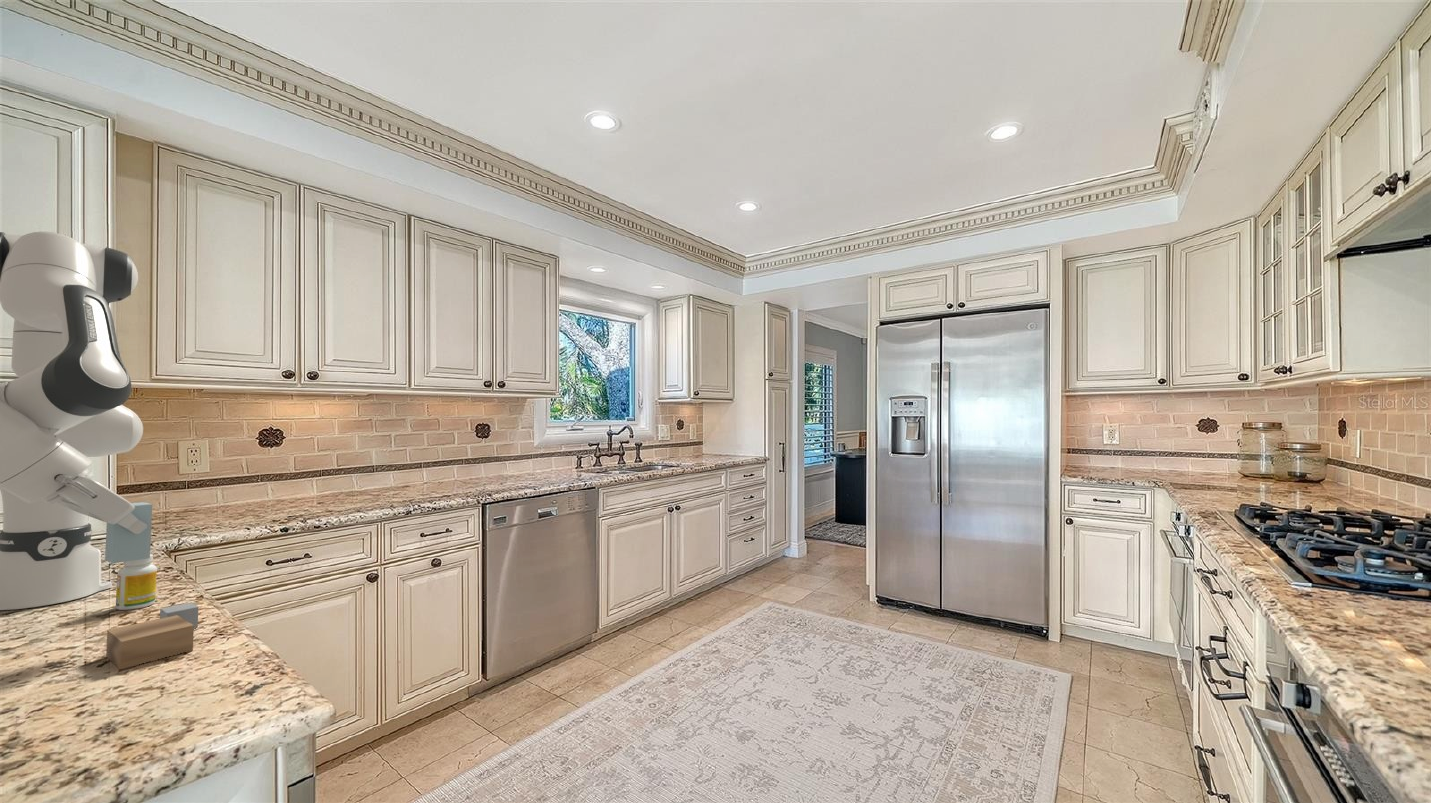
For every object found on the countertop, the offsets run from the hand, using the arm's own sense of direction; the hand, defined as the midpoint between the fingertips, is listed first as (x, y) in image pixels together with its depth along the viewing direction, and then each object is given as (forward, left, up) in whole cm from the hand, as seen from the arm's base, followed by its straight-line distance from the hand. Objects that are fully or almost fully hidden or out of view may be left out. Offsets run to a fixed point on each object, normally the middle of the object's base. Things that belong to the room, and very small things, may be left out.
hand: (136, 528), depth 94 cm
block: (+3, +5, -18) cm, 19 cm away
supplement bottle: (-20, +5, -18) cm, 28 cm away
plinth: (+12, 0, -18) cm, 21 cm away
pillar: (0, -1, -5) cm, 5 cm away
